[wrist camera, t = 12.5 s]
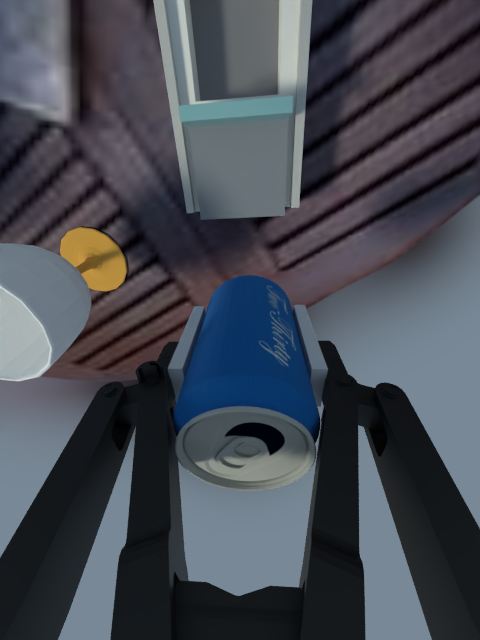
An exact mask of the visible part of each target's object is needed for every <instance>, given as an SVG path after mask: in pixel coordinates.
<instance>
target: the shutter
mask: <svg viewBox="0 0 480 640" xmlns="http://www.w3.org/2000/svg"><path fill="white" fill-rule="evenodd" d="M178 110H179V117H180V122H181V123H183V124H185V125H186V126H188V127H189V133H190V141H191V148H192V156H193V164H194V171H195V179H196V187H197V194H198V202H199V209H200V217H201V220H208V219H228V218H247V217H267V216H285V192H286V165H287V137H288V119H289V117H290V116H291V114H292V113H293V96H284V97H272V98H261V99H249V100H238V101H226V102H215V103H203V104H192V105H180V106H178Z"/></svg>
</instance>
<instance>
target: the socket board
mask: <svg viewBox="0 0 480 640" xmlns="http://www.w3.org/2000/svg"><path fill="white" fill-rule="evenodd" d="M153 1H154V7H155V14H156V20H157V26H158V33H159V39H160V46H161V52H162V58H163V65H164V71H165V77H166V84H167V90H168V96H169V103H170V109H171V115H172V122H173V128H174V135H175V141H176V147H177V154H178V160H179V166H180V173H181V179H182V185H183V192H184V198H185V204H186V211H187V213H195V212H200V209H199V202H198V194H197V187H196V179H195V171H194V164H193V156H192V148H191V141H190V133H189V127H188V126H186V125H185V124H183V123H181V122H180V117H179V110H178V106H180V105H192V104H203V103H215V102H226V101H238V100H249V99H261V98H272V97H284V96H293V113H292V114H291V116H290V117H289V119H288V137H287V165H286V192H285V207H291V208H295V207H299V200H300V185H301V169H302V154H303V138H304V122H305V107H306V91H307V76H308V60H309V44H310V29H311V13H312V0H153Z"/></svg>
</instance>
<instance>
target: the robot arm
mask: <svg viewBox="0 0 480 640" xmlns="http://www.w3.org/2000/svg"><path fill="white" fill-rule="evenodd" d="M293 317H294V320H295V324H296V328H297V332H298V336H299V340H300V343H301V347H302V351H303V355H304V359H305V362H306V366H307V370H308V374H309V378H310V382H311V385H312V389H313V393H314V397H315V401H316V404H317V406H321V401H322V402H323V405H324V409H323V413H322V418H321V421H322V422H321V430H320V437H319V445H318V452H317V460H316V468H315V475H314V483H313V491H312V498H311V506H310V513H309V522H308V528H307V536H306V544H305V552H304V559H303V566H302V571H301V577H300V584H299V588H297V587H279V586H269V587H266V588H263V589H260V590H257V591H254V592H251V593H247V594H244V595H242V596H235V595H233V594H231V593H229V592H227V591H224V590H222V589H220V588H218V587H216V586H214V585H211V584H210V583H207V582H194V581H188V573H187V566H186V561H185V552H184V540H183V525H182V512H181V497H180V482H179V468H178V458H177V456H176V452H175V444H176V433H175V430H174V424H173V414H174V407H173V404H174V401H175V399H176V403H177V400H178V397H179V394H180V391H181V388H182V385H183V381H184V378H185V375H186V372H187V369H188V366H189V363H190V360H191V357H192V354H193V351H194V348H195V345H196V342H197V339H198V336H199V333H200V330H201V327H202V324H203V321H204V318H205V307H204V306H194V308H193V310H192V313H191V315H190V317H189V320H188V322H187V324H186V327H185V329H184V331H183V334H182V336H181V338H180V341H179V342H169V343H168V344H167V345H165V346H164V348H163V350H162V352H161V354H160V356H159V358H158V360H157V361H148V362H145V363H143V364H141V365H140V366H139V367H138V368H137V370H136V375H137V378H138V380H139V383H138V384H135V385H131V386H127V387H124V385H123V384H122V383H121V382H111V383H108V384H106V385H104V386H103V387H101V388H100V389H99V391H98V392H97V394H96V395H95V397H94V399H93V400H92V402H91V404H90V405H89V407H88V409H87V411H86V412H85V414H84V416H83V418H82V419H81V421H80V423H79V424H78V426H77V428H76V430H75V431H74V433H73V435H72V436H71V438H70V440H69V441H68V443H67V445H66V447H65V448H64V450H63V452H62V453H61V455H60V457H59V459H58V460H57V462H56V464H55V465H54V467H53V469H52V470H51V472H50V474H49V476H48V477H47V479H46V481H45V483H44V484H43V486H42V488H41V489H40V491H39V493H38V494H37V496H36V498H35V499H34V501H33V503H32V505H31V506H30V508H29V510H28V511H27V513H26V515H25V517H24V518H23V520H22V522H21V523H20V525H19V527H18V528H17V530H16V532H15V534H14V535H13V537H12V539H11V541H10V542H9V544H8V546H7V548H6V549H5V551H4V553H3V554H2V556H1V558H0V640H58V637H59V635H60V633H61V630H62V628H63V625H64V623H65V620H66V617H67V615H68V613H69V610H70V607H71V604H72V602H73V598H74V596H75V593H76V590H77V588H78V585H79V582H80V579H81V577H82V574H83V571H84V568H85V565H86V563H87V560H88V557H89V554H90V551H91V549H92V546H93V543H94V540H95V538H96V535H97V532H98V529H99V527H100V524H101V521H102V518H103V515H104V512H105V510H106V507H107V504H108V501H109V499H110V496H111V493H112V490H113V488H114V484H115V482H116V479H117V476H118V474H119V471H120V468H121V465H122V463H123V460H124V457H125V454H126V451H127V449H128V446H129V443H130V440H131V438H132V435H133V432H134V429H135V426H136V434H135V446H134V458H133V471H132V482H131V493H130V505H129V517H128V518H129V519H128V530H127V539H126V544H125V546H124V548H123V549H122V550H121V553H120V556H119V562H118V570H117V580H116V590H115V600H114V610H113V620H112V630H111V640H365V597H364V570H363V564H362V560H361V558H360V554H359V488H358V487H359V486H358V485H359V483H358V425H359V426H363V427H364V429H365V432H366V435H367V438H368V441H369V445H370V448H371V450H372V454H373V457H374V460H375V463H376V466H377V470H378V473H379V476H380V479H381V482H382V485H383V488H384V491H385V494H386V498H387V501H388V504H389V507H390V510H391V513H392V516H393V520H394V523H395V526H396V529H397V532H398V535H399V538H400V541H401V544H402V548H403V551H404V554H405V557H406V560H407V563H408V566H409V569H410V572H411V576H412V579H413V582H414V585H415V588H416V591H417V595H418V598H419V601H420V603H421V607H422V610H423V613H424V616H425V619H426V622H427V626H428V629H429V632H430V635H431V638H432V640H480V529H479V527H478V525H477V523H476V521H475V519H474V518H473V516H472V514H471V512H470V510H469V508H468V507H467V505H466V503H465V502H464V499H463V498H462V496H461V494H460V492H459V490H458V488H457V487H456V485H455V483H454V481H453V479H452V478H451V476H450V474H449V472H448V470H447V468H446V467H445V465H444V463H443V461H442V459H441V457H440V456H439V454H438V452H437V450H436V448H435V447H434V445H433V443H432V441H431V439H430V438H429V436H428V434H427V432H426V430H425V428H424V426H423V425H422V423H421V421H420V419H419V417H418V416H417V414H416V412H415V410H414V408H413V407H412V405H411V403H410V401H409V399H408V397H407V396H406V394H405V393H404V392H403V390H402V389H400V388H399V387H398V386H395V385H393V384H390V383H380V384H378V385H377V386H376V388H372V387H368V386H364V385H361V384H358V383H357V381H356V380H355V379H354V378H353V377H352V376H350V375H348V373H347V371H346V369H345V367H344V364H343V362H342V360H341V358H340V355H339V353H338V351H337V349H336V347H335V345H334V344H333V343H331V342H330V341H317V338H316V335H315V332H314V330H313V327H312V324H311V321H310V319H309V316H308V313H307V311H306V308H305V305H294V308H293Z"/></svg>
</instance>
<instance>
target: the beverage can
mask: <svg viewBox="0 0 480 640" xmlns="http://www.w3.org/2000/svg"><path fill="white" fill-rule="evenodd" d="M173 424H174V430H175V433H176V436H177V439H176V444H175V452H176V456H177V458H178V460H179V462H180V463H181V465H182V466H183V467H184V468H185V469H186V470H187V471H188V472H189V473H191V474H192V475H193V476H195V477H197V478H198V479H200V480H202V481H204V482H207V483H209V484H212V485H215V486H219V487H223V488H228V489H233V490H244V491H258V490H267V489H273V488H277V487H281V486H284V485H287V484H290V483H292V482H294V481H296V480H298V479H300V478H301V477H302V476H304V475H305V474H306V473H307V472H308V471H309V470H310V469H311V467H312V466H313V464H314V462H315V459H316V447H315V443H316V441H317V438H318V435H319V430H320V416H319V412H318V408H317V404H316V401H315V397H314V393H313V389H312V385H311V382H310V378H309V374H308V370H307V366H306V362H305V359H304V355H303V351H302V347H301V343H300V340H299V336H298V332H297V328H296V324H295V320H294V317H293V313H292V309H291V305H290V302H289V299H288V297H287V295H286V293H285V292H284V291H283V290H282V289H281V288H280V287H279V286H278V285H277V284H276V283H274V282H273V281H271V280H269V279H266V278H264V277H260V276H253V275H245V276H239V277H235V278H233V279H230V280H228V281H226V282H225V283H223V284H222V285H221V286H219V288H218V289H217V290H216V291H215V292H214V294H213V295H212V297H211V299H210V302H209V305H208V308H207V311H206V314H205V318H204V321H203V324H202V327H201V330H200V333H199V336H198V339H197V342H196V345H195V348H194V351H193V354H192V357H191V360H190V363H189V366H188V369H187V372H186V375H185V378H184V381H183V385H182V388H181V391H180V394H179V397H178V400H177V403H176V406H175V409H174V414H173Z"/></svg>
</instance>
